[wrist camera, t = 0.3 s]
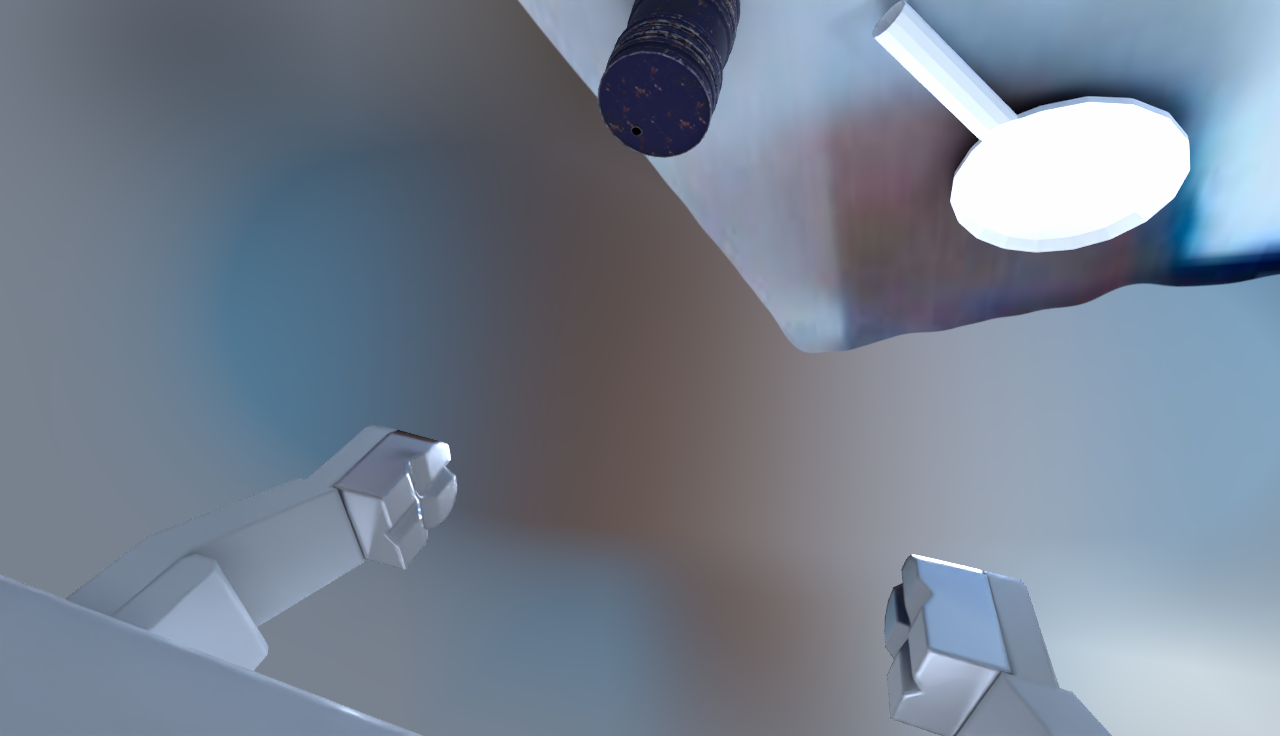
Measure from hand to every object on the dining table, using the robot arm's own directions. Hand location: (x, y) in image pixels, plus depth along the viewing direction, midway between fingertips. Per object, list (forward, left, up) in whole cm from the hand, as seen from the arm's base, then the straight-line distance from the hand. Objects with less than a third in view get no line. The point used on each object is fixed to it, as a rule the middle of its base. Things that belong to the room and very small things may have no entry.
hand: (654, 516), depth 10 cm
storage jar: (+11, -19, -53) cm, 57 cm away
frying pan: (+36, +3, -53) cm, 64 cm away
